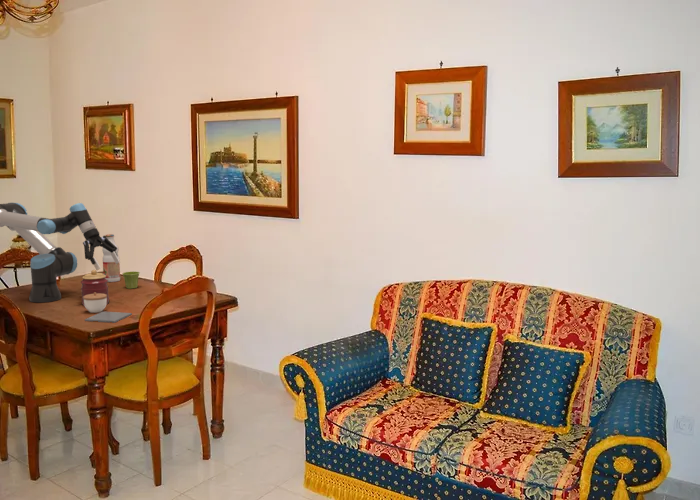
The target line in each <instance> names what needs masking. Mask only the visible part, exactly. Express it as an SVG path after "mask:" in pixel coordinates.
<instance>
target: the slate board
mask: <svg viewBox="0 0 700 500" xmlns="http://www.w3.org/2000/svg"><path fill="white" fill-rule="evenodd" d="M132 315H133V313H131V312H119V311H104V310H103V311H102V312H97V313H95V314H93V315H92V316H90V317H88V318H85V319H84V321H85V322H93V321H98V322H97V323H110V322H112V323H115V324H116V323H118V322H119V320H120V321H122V320H124V319H126V318H128V317H130V316H132ZM112 323H111V324H112Z"/></svg>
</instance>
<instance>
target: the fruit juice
mask: <svg viewBox="0 0 700 500" xmlns="http://www.w3.org/2000/svg"><path fill="white" fill-rule="evenodd" d="M104 236H106V238H107V239H108V240H109V241H110V242H111V243H112V244H113V245H115V246H116V247H117V250H116V251H115V252H116V253H117V255H118V259H119V260H120V256H119V246H118V245H117V243H116V242H115V234H112V233H108V234H105V235H104ZM101 250H102V251H101V252H102V253H103V255H102V271H103V273H102V274H104V275H106V277H105V278H106V279H107V280H108V282H107V283H115V282H120V280H121V266H120V262H119V263H118V264H116V263H115V261H114V259H113V257H112V256H111V252H110V251H108V250H106V249H105V248H103V247H102V249H101Z"/></svg>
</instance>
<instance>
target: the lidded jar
mask: <svg viewBox="0 0 700 500" xmlns="http://www.w3.org/2000/svg"><path fill="white" fill-rule="evenodd" d="M83 299H84V305H85V306H84V305H83V306H84V307H85V309H86V310H87V311H88V313H92V314H94V313H95V314H98V313H101V312H103V311H104V310H105V308H106V307H107V295H106V294H101V293H96V292H94V294H88V295H85V296H83Z"/></svg>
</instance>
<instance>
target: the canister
mask: <svg viewBox="0 0 700 500" xmlns="http://www.w3.org/2000/svg"><path fill="white" fill-rule="evenodd" d="M97 271H98V270H96V269H92V270H91V272H90V273H85V275H84V276H82V280H81V281H80V284H81V288H80V289H81V303H82V306H84V307H85V305H84V299H83V296H85V295H88V294H94V292H96V293H101V294H106V295H107V304H109V303H110V302H109V301H110V297H109V296H110V295H109V286H108V283H109V282H108V280H107V279H106V278H105V277H106V275H104V274H103V273H102V272H97ZM107 304H106V305H107Z"/></svg>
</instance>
